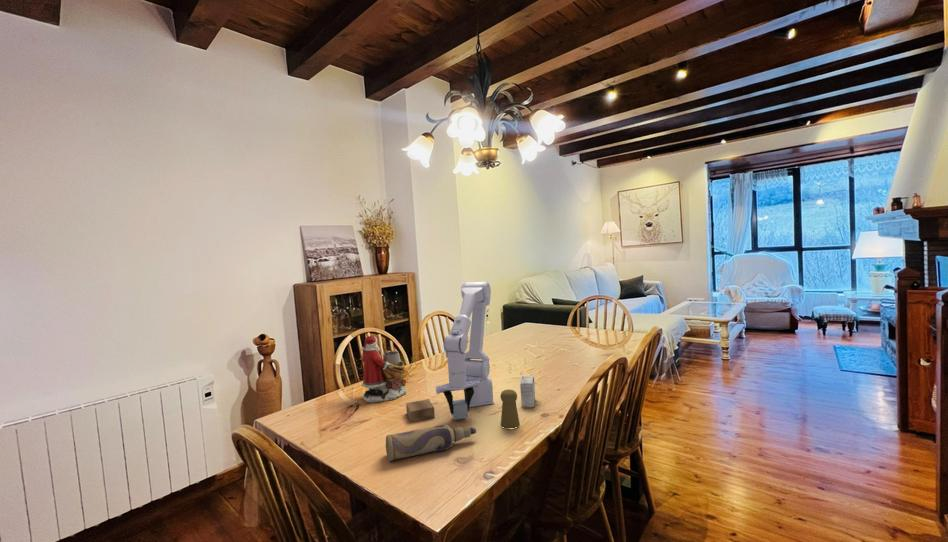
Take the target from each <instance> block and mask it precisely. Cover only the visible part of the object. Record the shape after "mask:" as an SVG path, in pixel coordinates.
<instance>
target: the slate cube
mask: <svg viewBox="0 0 948 542" xmlns="http://www.w3.org/2000/svg"><path fill="white" fill-rule="evenodd" d="M468 412H469V411H468V409H467V403H466V401H465V400H464V398H463V399H457V400H456V399H455V400H453V414H451V416H452V417H453V419H454V420H455V421H456V420H460V419H461V420H462V419H467V418H469V414H468Z"/></svg>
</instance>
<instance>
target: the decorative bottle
mask: <svg viewBox="0 0 948 542" xmlns="http://www.w3.org/2000/svg"><path fill="white" fill-rule="evenodd" d="M476 433H477V429H476V428H475V427H469V426H465V427H459V426H457V427H453V428H451V427H450V426H449V425H448V424H441V425H434V426H430V427H424V428H420V429H415V430H409V431H404V432H398V433H395V434H393V433H392V434H387V435H386V436H385V452H386V457H387V460H388V461H389V462H392V461H395V460H396V461H397V460H400V459H405V458H406V459H407V458H410V457H414V456H417V455H420V456H421V455H423V454H429V453H431V452H437V451H438V452H443V451H446V450H445V449H447V448H449V449H450V448H451V447H452V446H453V445H454V444H455V443H457V442H459V441H461V440H463V439H465V438H470V437H471V435H475V434H476ZM447 450H448V449H447Z"/></svg>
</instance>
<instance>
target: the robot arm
mask: <svg viewBox="0 0 948 542" xmlns="http://www.w3.org/2000/svg"><path fill="white" fill-rule="evenodd" d="M460 288H461V289H460V293H461V297H462V302H461V307H460V310H459V311H460V312H459V315H457V316H456V317H455V318H454V320H453V324H452V326H451V329H450V332H449V334H448V335H447V336H445V337H444V341H443V350H444V352H445V357H446V359H447V366H448V367H447V370H448V371H447V373H448V383H445V384H441V385H436V386H435V393H436V395H439V394H443V395H444V397H445V399H446V402H447V405H448V406H449V407H448V409H449V412H450V414H451V415H452V414H453V401H454V400H453V399H454V397H453V396H454V395H453V393H452V392H455V391H463V392H464V398H463V399H464V400H465V401H466V403H467V409H468V412H470V408H473V407H479V406H480V407H481V406H486V405H492V404H494V403H495V402H494V389H493V382H492V381H493V380H492V378H491V377H490V376H489V375H490V371H491V368H490V357H489V355H487V354H486V353H485V352H484V351H483V346H484V334H485V322H486V319H485V318H486V311H487V307H488V306H490V302H491V294H492V290H491V285H490V283H489V282H488V281H476V282H475V281H473V282H472V281H471V282H470V281H464V282H462V285H461V287H460ZM470 318H471V319H470ZM469 330H470V335H469V337H468V334H469ZM468 338H469V339H468ZM468 342H469V347H468ZM467 349H468V351H467Z"/></svg>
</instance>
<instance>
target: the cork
mask: <svg viewBox="0 0 948 542" xmlns="http://www.w3.org/2000/svg"><path fill="white" fill-rule="evenodd" d="M500 399H501V401H502V404H501V405H502V406H501V417H500V427H501V426H502V427H504V428H515V427H518V426H519V425H520V424H521V423H520V419H519V412H518V408H517V399H518V394H517V392H516V390H514V389H504V390H502V391H501V392H500ZM520 426H521V425H520ZM520 426H519V427H520ZM502 427H501V428H502ZM519 427H518V428H519ZM504 428H503V429H504Z"/></svg>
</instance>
